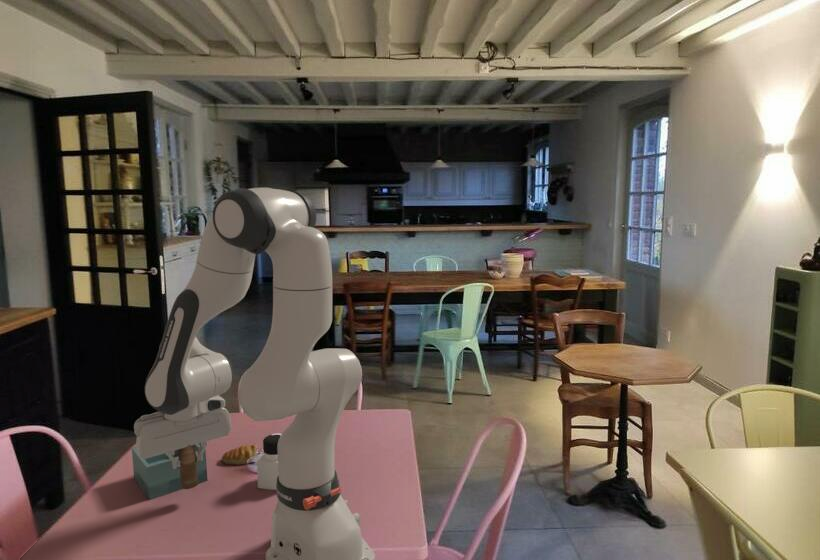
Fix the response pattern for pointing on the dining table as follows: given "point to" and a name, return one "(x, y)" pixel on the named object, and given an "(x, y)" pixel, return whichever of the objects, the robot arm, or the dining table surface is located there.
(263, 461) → the medicine bottle
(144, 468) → the box
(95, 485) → the dining table surface
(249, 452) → the pastry
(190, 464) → the peg
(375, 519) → the dining table surface
